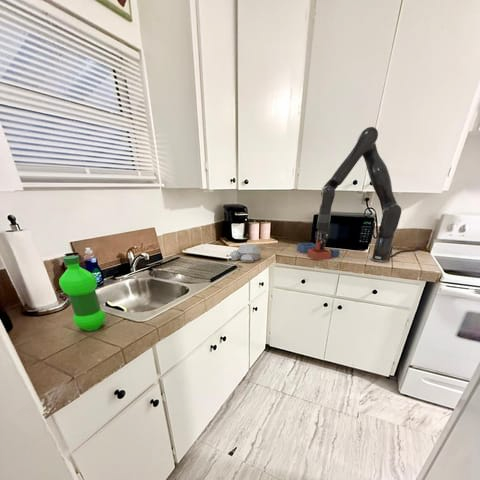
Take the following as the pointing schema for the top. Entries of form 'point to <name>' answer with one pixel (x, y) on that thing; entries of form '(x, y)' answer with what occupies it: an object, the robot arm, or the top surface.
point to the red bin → (319, 254)
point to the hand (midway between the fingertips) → (319, 248)
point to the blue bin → (305, 247)
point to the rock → (246, 253)
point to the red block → (318, 245)
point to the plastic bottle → (82, 294)
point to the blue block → (334, 252)
